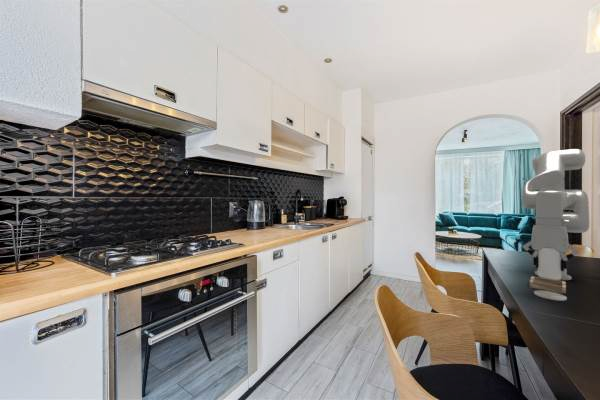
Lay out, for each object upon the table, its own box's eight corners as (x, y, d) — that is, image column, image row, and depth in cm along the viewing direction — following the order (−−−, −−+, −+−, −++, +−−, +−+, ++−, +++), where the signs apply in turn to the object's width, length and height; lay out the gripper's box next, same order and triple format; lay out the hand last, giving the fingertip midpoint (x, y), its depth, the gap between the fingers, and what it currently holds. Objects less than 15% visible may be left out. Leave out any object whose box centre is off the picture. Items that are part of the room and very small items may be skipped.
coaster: (534, 290, 103) (534, 288, 103) (566, 296, 96) (566, 294, 96) (533, 296, 96) (533, 294, 96) (567, 302, 90) (567, 301, 90)
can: (566, 281, 92) (566, 248, 93) (545, 279, 94) (545, 247, 94) (552, 276, 99) (552, 246, 99) (533, 275, 100) (533, 245, 100)
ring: (531, 281, 113) (531, 276, 113) (565, 287, 106) (565, 281, 106) (529, 287, 106) (529, 281, 106) (565, 293, 98) (565, 287, 98)
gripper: (582, 223, 93) (582, 271, 93) (520, 220, 105) (520, 263, 105) (583, 224, 88) (584, 275, 87) (518, 221, 100) (518, 266, 100)
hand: (549, 268), depth 96 cm, fingers closed on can, 6 cm apart
